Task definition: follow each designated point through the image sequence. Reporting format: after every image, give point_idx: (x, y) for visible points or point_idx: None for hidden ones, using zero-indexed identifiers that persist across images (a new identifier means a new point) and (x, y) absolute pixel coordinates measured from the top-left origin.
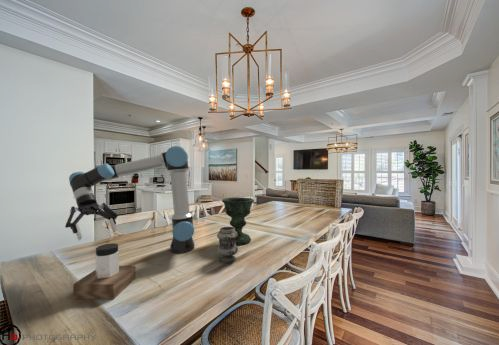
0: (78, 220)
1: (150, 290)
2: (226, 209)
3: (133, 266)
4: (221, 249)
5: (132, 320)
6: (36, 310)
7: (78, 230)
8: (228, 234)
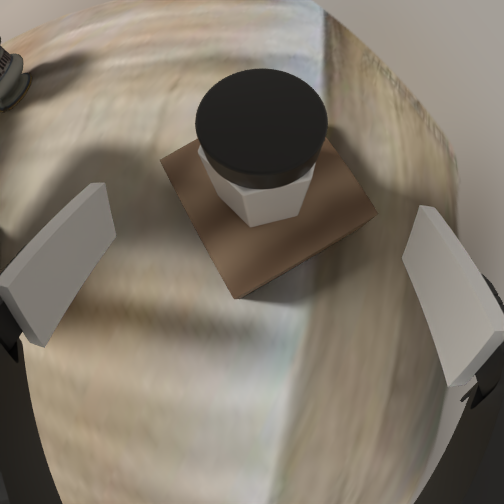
0: (486, 422)
1: (203, 84)
2: None
3: (166, 161)
4: (11, 67)
5: (301, 34)
6: None
7: (464, 253)
8: None
